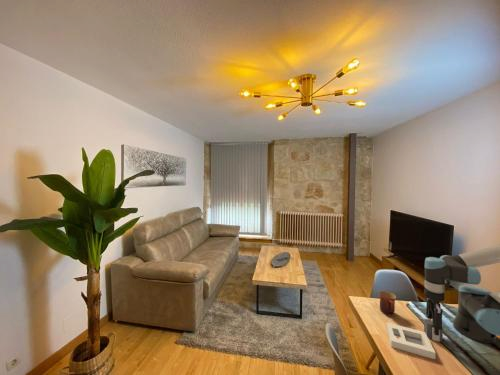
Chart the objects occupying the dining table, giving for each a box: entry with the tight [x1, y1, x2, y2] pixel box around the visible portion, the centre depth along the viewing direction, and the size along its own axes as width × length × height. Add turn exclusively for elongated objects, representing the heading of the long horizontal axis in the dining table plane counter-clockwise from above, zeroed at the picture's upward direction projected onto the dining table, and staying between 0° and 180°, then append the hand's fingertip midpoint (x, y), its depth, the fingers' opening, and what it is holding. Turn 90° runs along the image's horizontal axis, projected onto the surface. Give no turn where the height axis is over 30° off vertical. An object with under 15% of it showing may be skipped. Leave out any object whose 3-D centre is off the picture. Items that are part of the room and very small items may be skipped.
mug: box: [378, 290, 397, 316], centre depth 122 cm, size 12×9×10 cm
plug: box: [423, 318, 444, 342], centre depth 104 cm, size 6×4×8 cm
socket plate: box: [385, 321, 437, 360], centre depth 100 cm, size 16×14×4 cm
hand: (433, 336), depth 104 cm, fingers open, 5 cm apart
